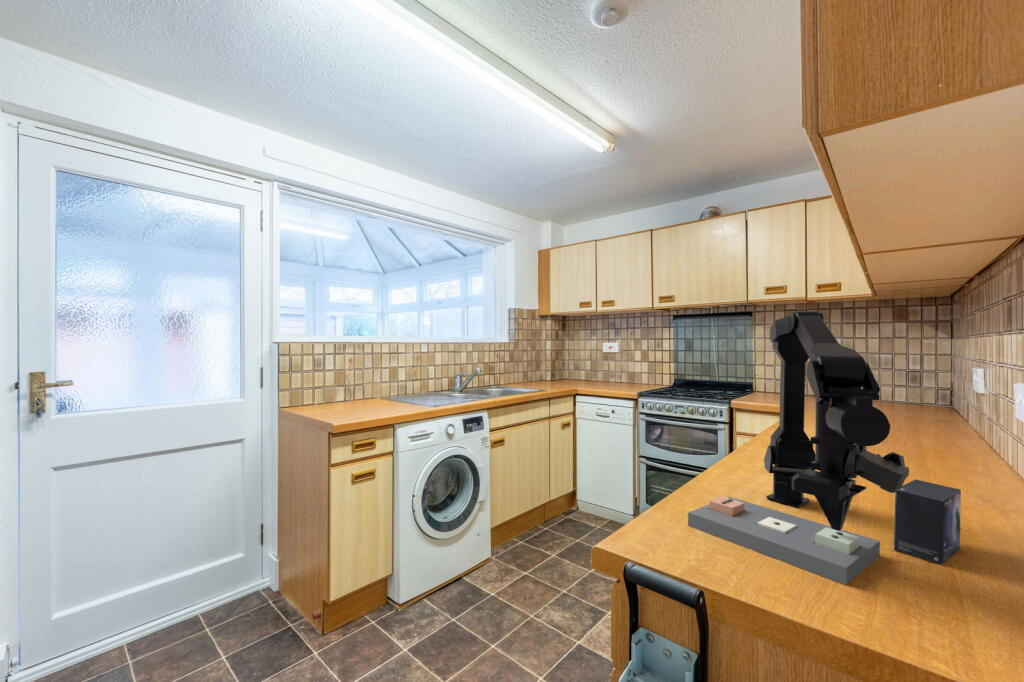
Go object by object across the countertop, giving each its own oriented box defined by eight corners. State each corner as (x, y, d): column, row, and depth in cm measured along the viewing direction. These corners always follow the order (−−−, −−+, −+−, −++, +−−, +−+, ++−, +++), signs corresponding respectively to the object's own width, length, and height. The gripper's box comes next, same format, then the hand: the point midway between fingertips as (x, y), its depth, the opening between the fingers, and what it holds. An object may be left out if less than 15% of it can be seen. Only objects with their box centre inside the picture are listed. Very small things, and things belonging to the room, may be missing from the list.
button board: (729, 508, 92) (729, 496, 92) (879, 556, 72) (879, 540, 72) (688, 525, 83) (688, 512, 83) (846, 585, 63) (846, 567, 63)
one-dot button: (769, 530, 81) (769, 516, 81) (796, 539, 77) (796, 524, 77) (757, 536, 78) (757, 521, 78) (784, 546, 74) (784, 530, 74)
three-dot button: (721, 508, 88) (721, 495, 88) (744, 515, 84) (744, 502, 84) (709, 513, 85) (709, 500, 85) (732, 521, 82) (732, 507, 82)
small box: (945, 567, 68) (945, 500, 68) (892, 550, 74) (892, 488, 74) (963, 550, 74) (963, 488, 74) (912, 535, 79) (912, 478, 80)
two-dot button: (826, 542, 73) (826, 526, 73) (859, 552, 70) (859, 536, 70) (815, 549, 71) (815, 533, 71) (848, 560, 67) (848, 543, 67)
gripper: (882, 450, 58) (881, 568, 58) (919, 434, 69) (919, 533, 69) (790, 435, 67) (789, 537, 67) (836, 423, 78) (836, 510, 78)
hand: (836, 529), depth 70 cm, fingers closed
